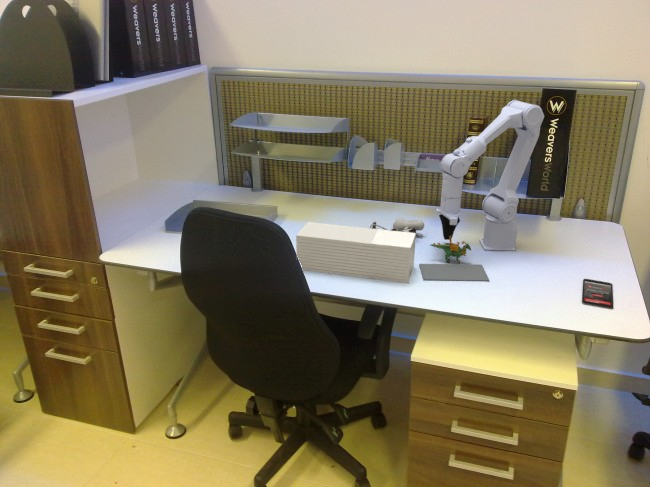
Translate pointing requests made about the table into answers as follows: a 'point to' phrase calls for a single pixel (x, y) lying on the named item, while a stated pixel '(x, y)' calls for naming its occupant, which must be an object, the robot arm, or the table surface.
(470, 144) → the robot arm
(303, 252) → the stack of papers
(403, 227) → the clip-on lamp
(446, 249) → the figurine
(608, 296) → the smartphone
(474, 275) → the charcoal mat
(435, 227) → the table surface
